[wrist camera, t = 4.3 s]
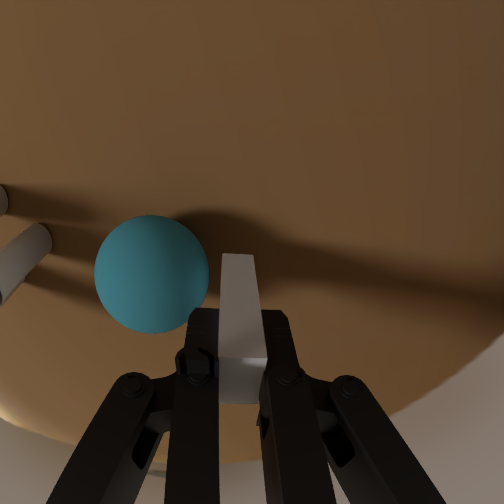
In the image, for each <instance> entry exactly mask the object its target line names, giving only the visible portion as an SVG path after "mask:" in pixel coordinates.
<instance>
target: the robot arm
mask: <svg viewBox="0 0 504 504" xmlns="http://www.w3.org/2000/svg"><path fill="white" fill-rule="evenodd" d="M175 363H176V370H177V371H176V372H175V373H173V374H171V375H169V376H167V377H163V378H157V379H150V378H149V377H148V376H146V375H144V374H142V373H137V372H131V373H126V374H124V375H122V376H120V377H119V378H118V379H117V380H116V382H115V383H114V385H113V386H112V388H111V390H110V391H109V393H108V394H107V396H106V398H105V399H104V401H103V403H102V404H101V406H100V408H99V409H98V411H97V413H96V414H95V416H94V418H93V419H92V421H91V423H90V424H89V426H88V428H87V430H86V431H85V433H84V435H83V436H82V438H81V440H80V442H79V443H78V445H77V447H76V449H75V450H74V452H73V454H72V456H71V458H70V459H69V461H68V463H67V465H66V467H65V468H64V471H63V472H62V474H61V476H60V478H59V480H58V481H57V483H56V485H55V487H54V489H53V491H52V493H51V495H50V497H49V499H48V501H47V502H46V504H134V502H135V500H136V498H137V495H138V493H139V490H140V488H141V485H142V483H143V481H144V479H145V476H146V474H147V471H148V469H149V467H150V464H151V462H152V460H153V457H154V455H155V453H156V450H157V448H158V446H159V443H160V441H161V439H162V436H163V434H164V432H167V431H170V438H169V448H168V459H167V470H166V484H165V498H164V504H220V493H219V403H227V404H258V400H259V404H260V410H259V414H258V419H257V424H256V426H259V428H260V439H261V450H262V460H263V471H264V481H265V491H266V501H267V504H337V503H336V498H335V494H334V489H333V484H332V480H331V475H330V471H329V467H328V463H329V465H330V467H331V469H332V471H333V472H334V474H335V476H336V478H337V480H338V482H339V484H340V485H341V487H342V489H343V491H344V493H345V495H346V496H347V498H348V500H349V502H350V504H446V502H445V501H444V499H443V498H442V496H441V495H440V493H439V492H438V490H437V489H436V487H435V486H434V484H433V483H432V481H431V480H430V478H429V477H428V475H427V474H426V472H425V471H424V469H423V468H422V466H421V465H420V463H419V462H418V460H417V459H416V457H415V456H414V454H413V453H412V451H411V450H410V449H409V447H408V445H407V444H406V443H405V441H404V440H403V438H402V437H401V435H400V434H399V432H398V431H397V430H396V428H395V427H394V425H393V424H392V422H391V421H390V419H389V418H388V416H387V415H386V413H385V412H384V411H383V409H382V408H381V406H380V405H379V403H378V402H377V400H376V399H375V398H374V396H373V395H372V393H371V392H370V390H369V389H368V388H367V386H366V385H365V384H364V383H363V382H362V381H361V380H360V379H358V378H356V377H355V376H350V375H343V376H339V377H337V378H336V379H334V381H333V382H328V381H323V380H318V379H315V378H312V377H310V376H309V375H307V374H306V373H305V371H304V370H303V369H302V368H300V366H299V363H298V359H297V355H296V350H295V346H294V342H293V338H292V334H291V330H290V326H289V321H288V318H287V317H286V316H285V314H284V313H283V312H282V311H281V310H261V308H260V301H259V294H258V287H257V279H256V272H255V265H254V258H253V255H248V254H229V253H222V268H221V288H220V309H214V308H196V307H195V309H194V310H193V311H192V312H191V314H190V315H189V319H188V326H187V332H186V338H185V344H184V348H182V349H181V350H180V351H179V352H178V353H177V355H176V357H175ZM327 461H328V462H327Z"/></svg>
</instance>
